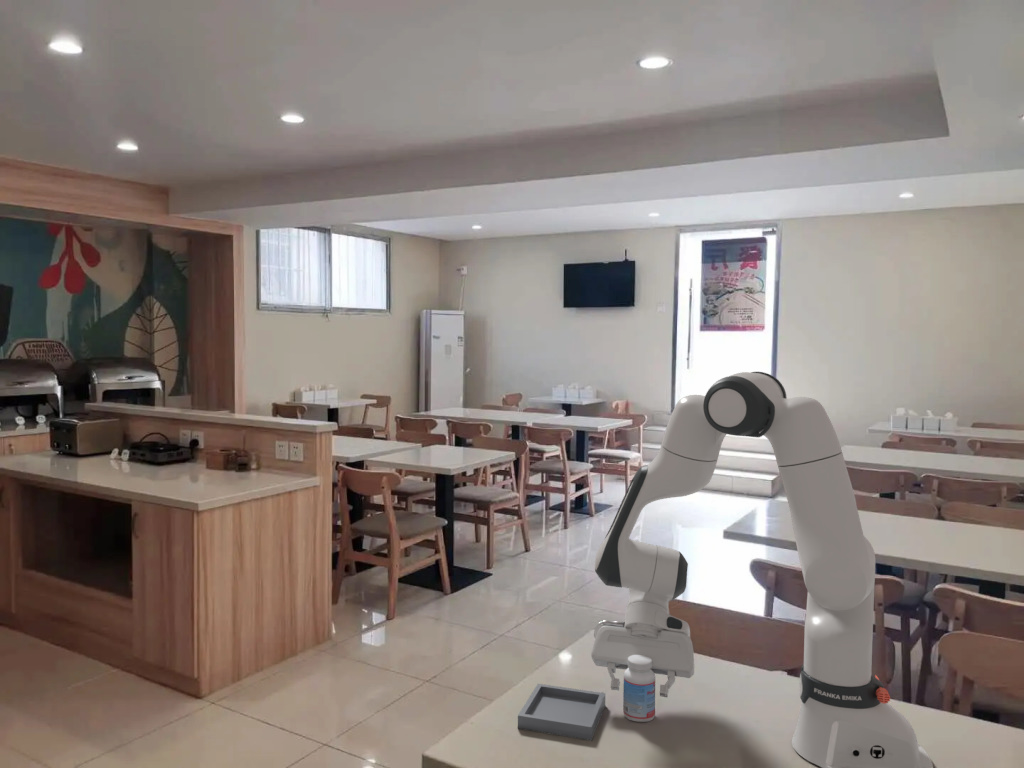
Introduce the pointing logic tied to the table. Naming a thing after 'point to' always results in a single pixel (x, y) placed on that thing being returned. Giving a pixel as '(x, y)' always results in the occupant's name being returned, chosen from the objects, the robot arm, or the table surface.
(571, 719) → the tray
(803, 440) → the robot arm
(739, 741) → the table surface
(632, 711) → the pill bottle
